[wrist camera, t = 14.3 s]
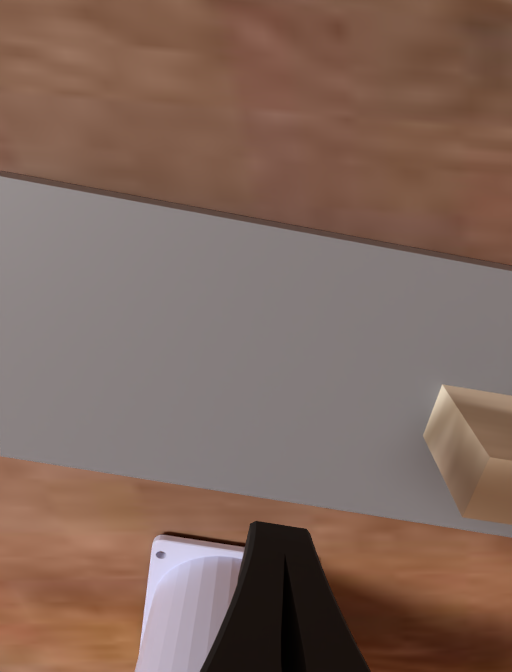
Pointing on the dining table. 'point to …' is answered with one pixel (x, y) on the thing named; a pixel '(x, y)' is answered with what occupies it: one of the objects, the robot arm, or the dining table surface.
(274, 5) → the dining table surface
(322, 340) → the assembly board
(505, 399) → the birch slat
